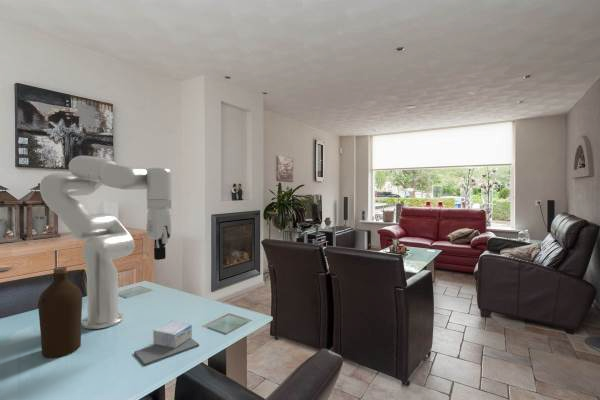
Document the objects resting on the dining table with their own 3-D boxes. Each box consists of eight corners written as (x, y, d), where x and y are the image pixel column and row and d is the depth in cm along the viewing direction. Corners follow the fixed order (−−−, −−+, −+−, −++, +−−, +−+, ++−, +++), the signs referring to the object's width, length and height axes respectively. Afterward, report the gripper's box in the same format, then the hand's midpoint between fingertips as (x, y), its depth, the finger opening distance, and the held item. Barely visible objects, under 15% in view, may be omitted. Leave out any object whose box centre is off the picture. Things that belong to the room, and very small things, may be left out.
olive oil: (75, 356, 93) (73, 271, 92) (31, 361, 90) (29, 273, 89) (88, 339, 103) (86, 262, 102) (49, 343, 100) (47, 264, 99)
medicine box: (152, 343, 99) (174, 349, 96) (152, 329, 99) (174, 334, 96) (171, 333, 106) (192, 337, 103) (171, 320, 106) (192, 324, 103)
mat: (134, 353, 95) (134, 351, 95) (186, 336, 106) (186, 334, 106) (144, 365, 88) (144, 363, 88) (199, 346, 99) (199, 344, 99)
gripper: (139, 204, 110) (140, 257, 110) (156, 206, 99) (156, 264, 100) (162, 203, 115) (162, 254, 116) (179, 205, 104) (180, 261, 105)
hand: (159, 258), depth 108 cm, fingers closed
